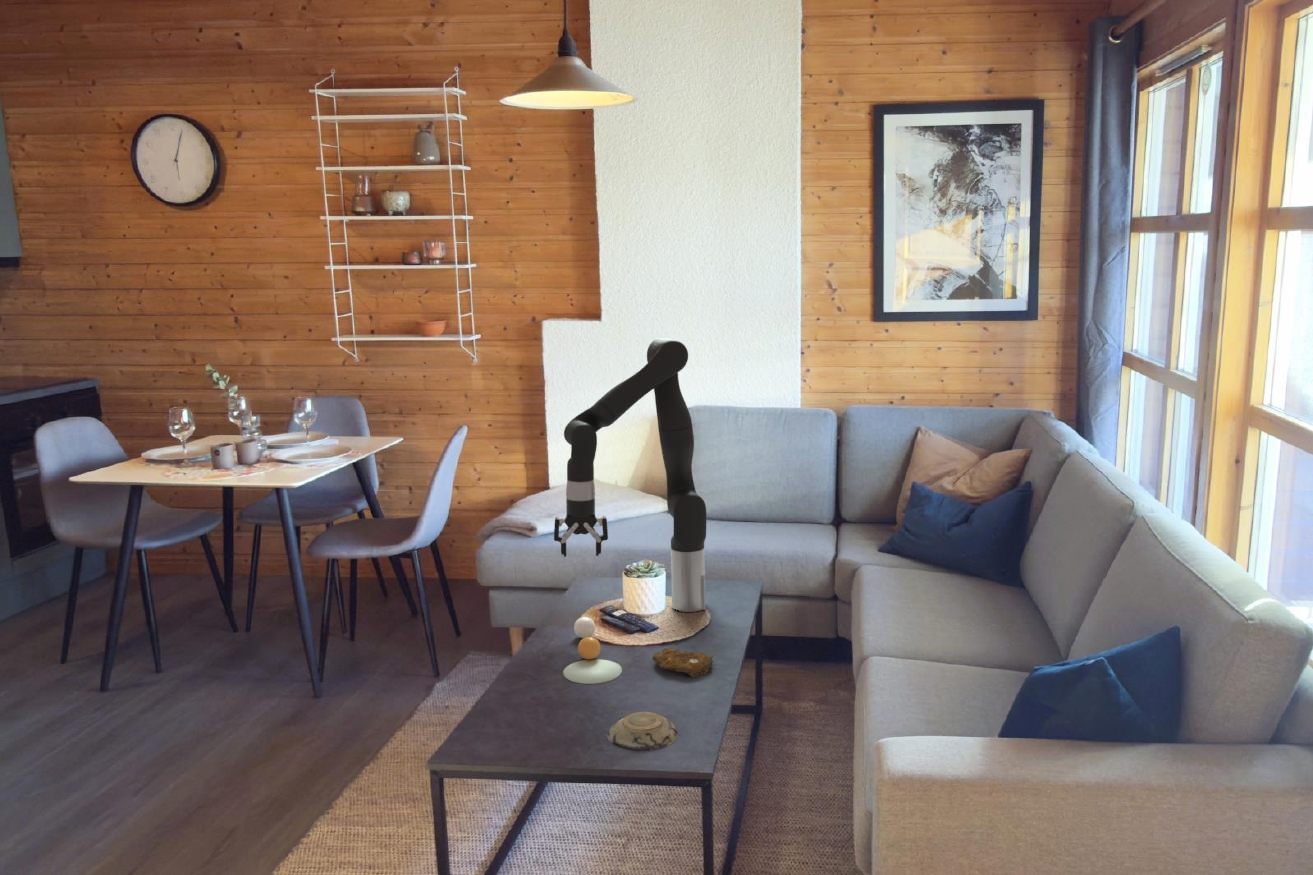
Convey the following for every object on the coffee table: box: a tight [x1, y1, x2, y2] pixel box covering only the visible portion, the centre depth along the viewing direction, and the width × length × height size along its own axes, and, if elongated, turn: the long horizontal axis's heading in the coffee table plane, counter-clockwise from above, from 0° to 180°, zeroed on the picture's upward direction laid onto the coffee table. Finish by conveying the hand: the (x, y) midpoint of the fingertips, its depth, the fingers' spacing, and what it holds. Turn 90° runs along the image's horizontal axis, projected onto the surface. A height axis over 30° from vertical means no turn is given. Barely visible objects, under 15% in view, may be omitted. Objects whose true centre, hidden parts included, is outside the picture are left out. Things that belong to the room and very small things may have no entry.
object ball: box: [577, 636, 601, 660], centre depth 259 cm, size 6×6×6 cm
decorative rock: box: [651, 647, 714, 678], centre depth 252 cm, size 11×4×15 cm
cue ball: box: [573, 616, 596, 639], centre depth 272 cm, size 6×6×6 cm
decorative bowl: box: [606, 711, 678, 752], centre depth 219 cm, size 15×4×15 cm
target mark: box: [562, 658, 623, 685], centre depth 251 cm, size 14×14×1 cm
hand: (581, 555), depth 280 cm, fingers open, 8 cm apart
